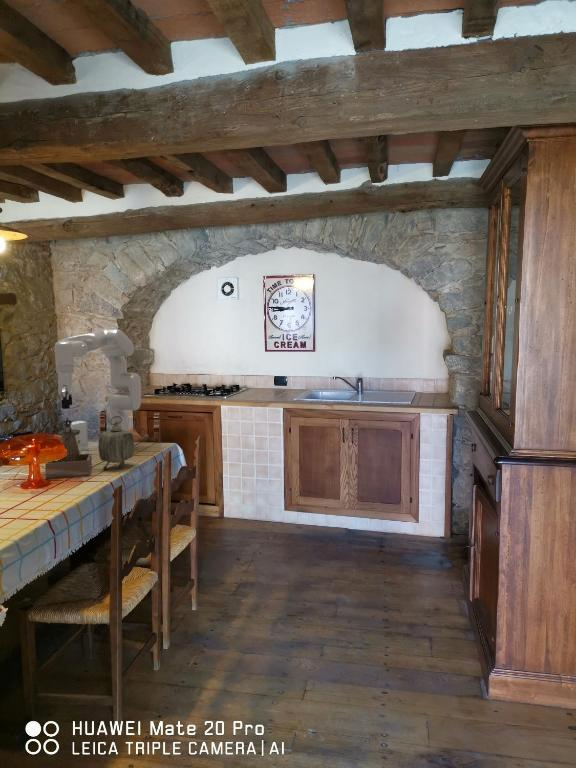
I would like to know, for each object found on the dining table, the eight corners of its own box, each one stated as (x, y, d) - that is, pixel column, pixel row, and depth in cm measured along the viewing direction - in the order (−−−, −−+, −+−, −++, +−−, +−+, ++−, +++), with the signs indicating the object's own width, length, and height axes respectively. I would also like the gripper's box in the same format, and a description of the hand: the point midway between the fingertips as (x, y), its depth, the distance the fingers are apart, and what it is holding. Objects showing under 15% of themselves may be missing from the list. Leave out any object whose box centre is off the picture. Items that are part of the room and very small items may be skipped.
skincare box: (82, 447, 289) (81, 420, 288) (88, 449, 285) (87, 421, 284) (68, 450, 283) (66, 422, 281) (74, 452, 279) (73, 423, 277)
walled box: (51, 470, 244) (50, 456, 243) (92, 467, 249) (91, 453, 248) (46, 479, 230) (45, 463, 230) (89, 476, 235) (88, 460, 235)
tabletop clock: (123, 463, 257) (121, 413, 255) (136, 465, 253) (134, 414, 250) (99, 470, 245) (97, 417, 242) (112, 472, 240) (110, 419, 238)
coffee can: (60, 457, 269) (58, 430, 268) (81, 455, 273) (80, 428, 271) (58, 461, 260) (57, 434, 258) (81, 460, 263) (79, 432, 262)
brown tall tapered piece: (64, 474, 234) (61, 418, 233) (57, 471, 239) (54, 417, 238) (83, 470, 240) (80, 416, 239) (76, 468, 245) (73, 415, 244)
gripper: (58, 367, 241) (60, 404, 244) (53, 371, 225) (55, 410, 227) (76, 367, 244) (78, 403, 246) (71, 370, 227) (73, 409, 229)
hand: (67, 406), depth 236 cm, fingers open, 9 cm apart
